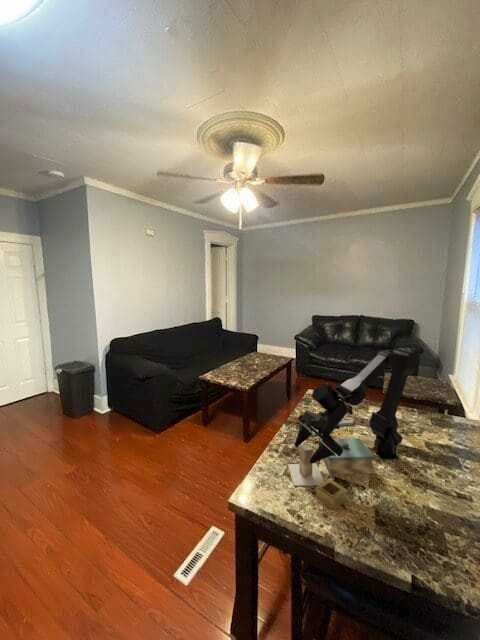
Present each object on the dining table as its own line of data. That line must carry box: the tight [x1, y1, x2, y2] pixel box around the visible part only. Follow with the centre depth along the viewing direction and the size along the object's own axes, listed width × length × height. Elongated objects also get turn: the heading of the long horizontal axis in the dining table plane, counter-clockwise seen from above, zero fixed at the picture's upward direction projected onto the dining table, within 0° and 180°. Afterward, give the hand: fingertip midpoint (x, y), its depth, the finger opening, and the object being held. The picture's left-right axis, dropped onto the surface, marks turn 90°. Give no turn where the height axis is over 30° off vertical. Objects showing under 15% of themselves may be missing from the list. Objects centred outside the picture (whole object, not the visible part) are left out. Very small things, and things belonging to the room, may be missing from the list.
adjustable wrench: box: [309, 415, 355, 437], centre depth 122 cm, size 25×6×2 cm, turn 114°
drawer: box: [319, 437, 375, 475], centre depth 97 cm, size 15×11×7 cm
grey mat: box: [287, 462, 325, 487], centre depth 92 cm, size 10×10×1 cm
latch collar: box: [315, 478, 348, 511], centre depth 82 cm, size 6×6×3 cm
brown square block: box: [299, 443, 314, 478], centre depth 91 cm, size 3×3×10 cm
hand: (302, 454), depth 90 cm, fingers open, 9 cm apart
